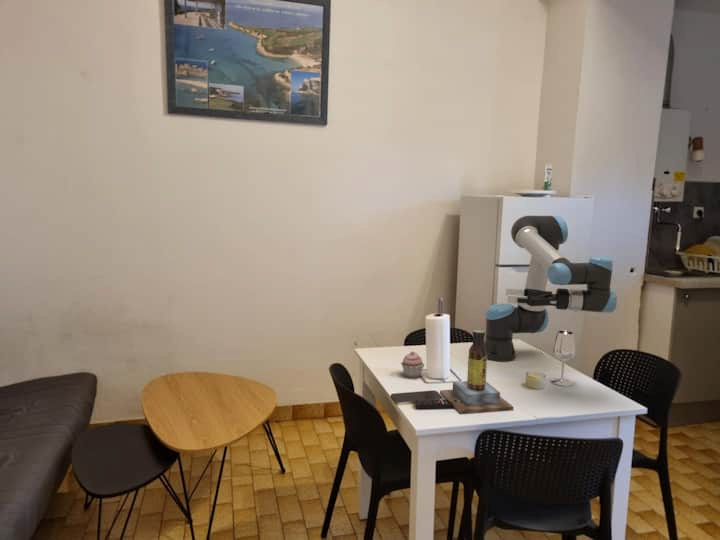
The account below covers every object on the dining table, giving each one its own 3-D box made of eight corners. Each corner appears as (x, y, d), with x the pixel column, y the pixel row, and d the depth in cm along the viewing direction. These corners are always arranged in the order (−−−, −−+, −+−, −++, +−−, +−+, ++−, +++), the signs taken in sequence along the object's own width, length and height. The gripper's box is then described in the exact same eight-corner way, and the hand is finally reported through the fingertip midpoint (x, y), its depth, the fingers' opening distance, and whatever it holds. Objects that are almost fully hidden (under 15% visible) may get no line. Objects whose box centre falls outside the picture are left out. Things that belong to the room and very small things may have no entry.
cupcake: (395, 375, 204) (396, 351, 202) (409, 369, 211) (410, 346, 209) (414, 381, 198) (415, 356, 196) (428, 375, 205) (429, 351, 203)
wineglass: (574, 381, 200) (578, 331, 198) (570, 387, 194) (574, 336, 191) (553, 377, 205) (557, 328, 202) (548, 383, 198) (552, 332, 195)
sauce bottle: (485, 391, 174) (489, 334, 172) (467, 389, 176) (469, 333, 173) (485, 384, 181) (488, 329, 178) (466, 383, 182) (469, 328, 179)
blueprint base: (488, 390, 190) (489, 376, 189) (513, 410, 172) (514, 395, 172) (439, 393, 186) (440, 379, 185) (459, 414, 168) (460, 398, 168)
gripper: (572, 317, 173) (507, 313, 178) (562, 302, 197) (504, 298, 202) (574, 296, 172) (509, 291, 177) (563, 283, 196) (506, 279, 201)
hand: (506, 295), depth 190 cm, fingers open, 13 cm apart
